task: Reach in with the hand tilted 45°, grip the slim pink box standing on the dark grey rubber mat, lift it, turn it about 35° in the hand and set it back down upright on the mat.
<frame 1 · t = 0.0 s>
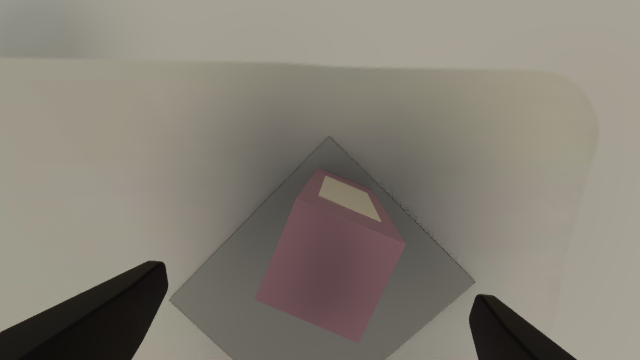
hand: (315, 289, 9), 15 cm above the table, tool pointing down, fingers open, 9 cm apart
pink box: (333, 205, 24), resting on mat
mat: (316, 289, 25), on the table
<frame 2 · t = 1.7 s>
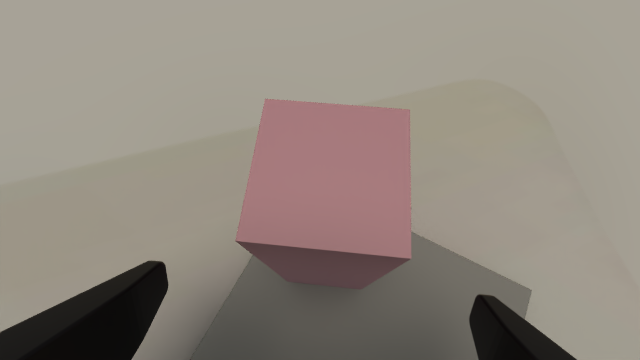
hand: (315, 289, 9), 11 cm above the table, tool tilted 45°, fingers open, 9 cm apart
pink box: (327, 248, 20), resting on mat
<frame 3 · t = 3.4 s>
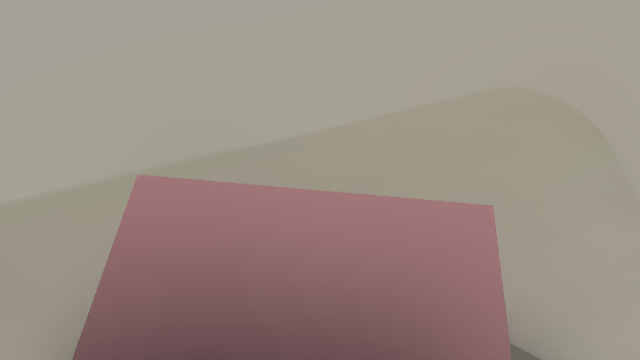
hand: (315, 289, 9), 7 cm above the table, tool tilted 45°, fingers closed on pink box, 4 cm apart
pink box: (316, 329, 14), resting on mat, touching gripper
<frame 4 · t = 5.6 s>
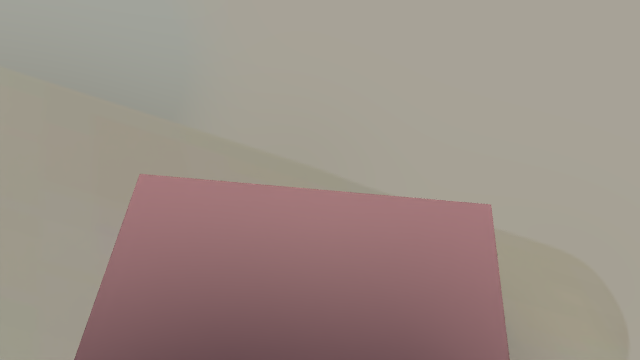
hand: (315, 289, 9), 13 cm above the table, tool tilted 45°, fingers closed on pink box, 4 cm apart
pink box: (316, 329, 14), point 7 cm above the table, touching gripper
when the fingers open (8 cm above the table, at t = 7.6 s): pink box drops 1 cm, resting on mat.
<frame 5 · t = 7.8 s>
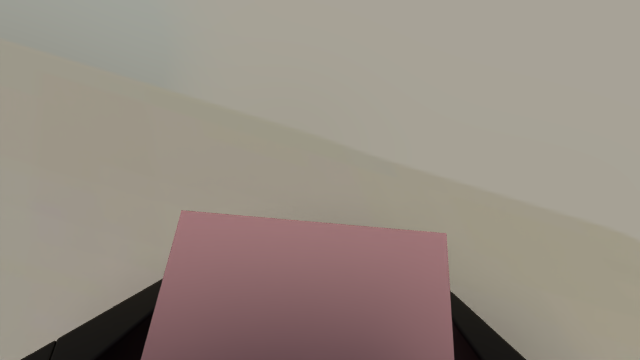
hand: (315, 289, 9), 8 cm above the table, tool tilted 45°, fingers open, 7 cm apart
pink box: (316, 328, 15), resting on mat
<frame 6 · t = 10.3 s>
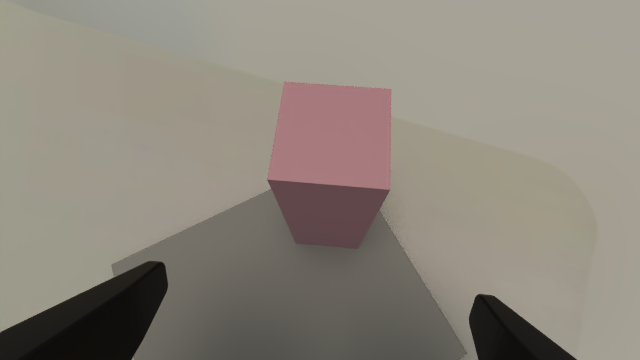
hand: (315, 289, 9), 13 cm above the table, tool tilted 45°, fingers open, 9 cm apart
pink box: (329, 216, 23), resting on mat
mat: (279, 306, 21), on the table
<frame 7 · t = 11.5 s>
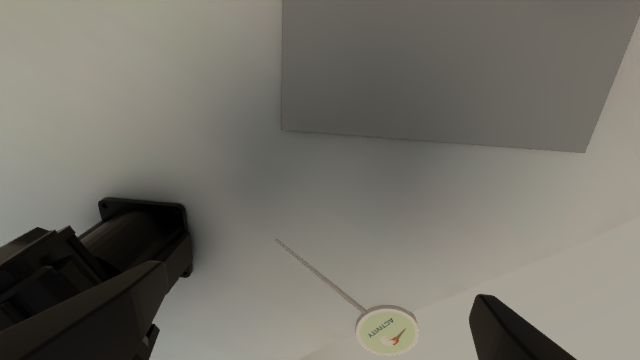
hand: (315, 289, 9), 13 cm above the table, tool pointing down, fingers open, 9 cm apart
sign: (345, 290, 26), on the table
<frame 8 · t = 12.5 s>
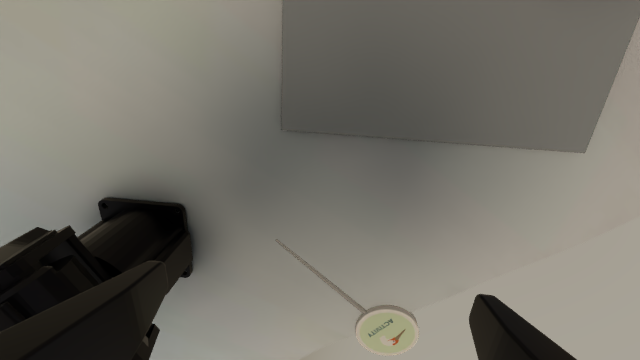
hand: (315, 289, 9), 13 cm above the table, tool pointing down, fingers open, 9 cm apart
sign: (345, 290, 26), on the table
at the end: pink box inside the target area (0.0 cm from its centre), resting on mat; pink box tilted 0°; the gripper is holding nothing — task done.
